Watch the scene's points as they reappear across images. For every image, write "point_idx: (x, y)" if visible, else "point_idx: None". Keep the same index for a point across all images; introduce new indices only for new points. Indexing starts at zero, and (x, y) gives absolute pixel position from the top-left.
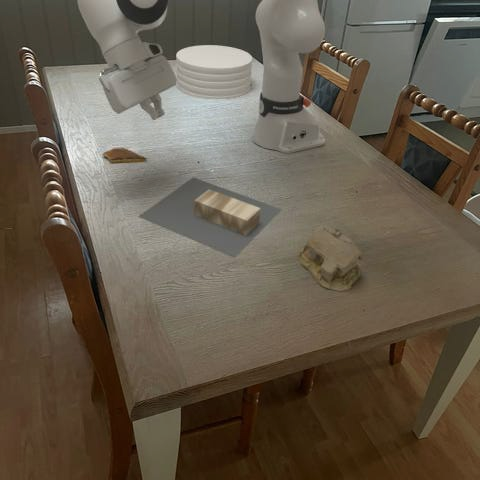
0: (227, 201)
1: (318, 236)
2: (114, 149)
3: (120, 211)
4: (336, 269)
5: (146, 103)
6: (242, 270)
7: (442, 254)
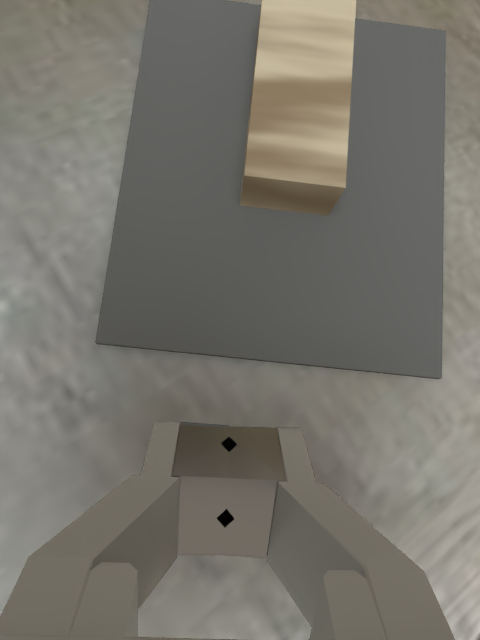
0: (286, 83)
1: None
2: None
3: (439, 462)
4: None
5: (436, 611)
6: (468, 6)
7: None
